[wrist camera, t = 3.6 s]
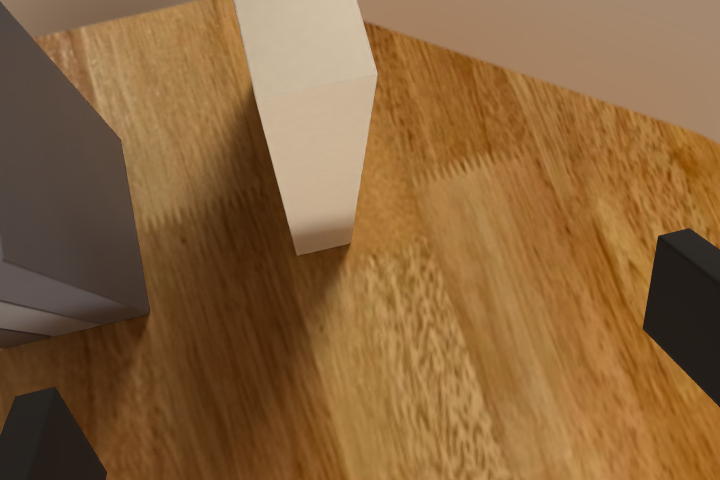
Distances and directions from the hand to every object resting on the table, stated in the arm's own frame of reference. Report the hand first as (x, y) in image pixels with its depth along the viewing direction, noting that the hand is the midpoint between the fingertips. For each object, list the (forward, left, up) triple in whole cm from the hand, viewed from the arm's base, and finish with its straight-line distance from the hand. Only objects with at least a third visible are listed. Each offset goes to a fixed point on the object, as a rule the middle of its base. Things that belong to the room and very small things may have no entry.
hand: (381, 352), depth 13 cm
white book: (+3, -11, -18) cm, 21 cm away
